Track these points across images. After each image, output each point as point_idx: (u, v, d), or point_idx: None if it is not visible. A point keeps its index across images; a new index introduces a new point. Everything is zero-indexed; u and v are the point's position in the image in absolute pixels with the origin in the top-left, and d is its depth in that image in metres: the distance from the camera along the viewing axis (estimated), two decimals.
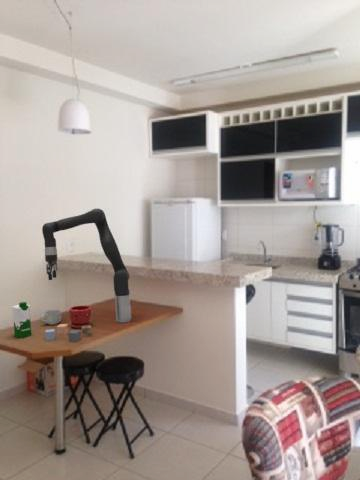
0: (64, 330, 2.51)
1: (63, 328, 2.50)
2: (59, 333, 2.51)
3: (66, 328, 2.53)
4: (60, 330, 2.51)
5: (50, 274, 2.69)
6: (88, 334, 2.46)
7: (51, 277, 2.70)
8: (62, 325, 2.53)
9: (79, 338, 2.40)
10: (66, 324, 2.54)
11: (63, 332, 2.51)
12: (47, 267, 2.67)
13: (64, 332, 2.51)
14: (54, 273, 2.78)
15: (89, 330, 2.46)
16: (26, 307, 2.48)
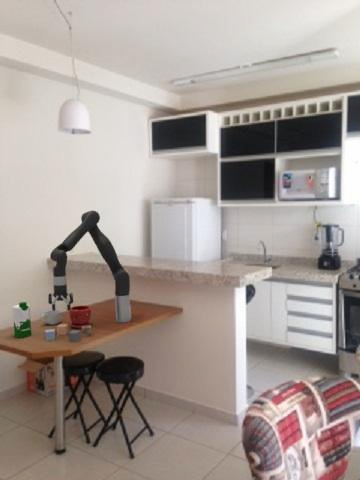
0: (64, 330, 2.51)
1: (63, 328, 2.50)
2: (59, 333, 2.51)
3: (66, 328, 2.53)
4: (60, 330, 2.51)
5: None
6: (88, 334, 2.46)
7: None
8: (62, 325, 2.53)
9: (79, 338, 2.40)
10: (66, 324, 2.54)
11: (63, 332, 2.51)
12: (71, 296, 2.51)
13: (64, 332, 2.51)
14: (54, 306, 2.52)
15: (89, 330, 2.46)
16: (26, 307, 2.48)
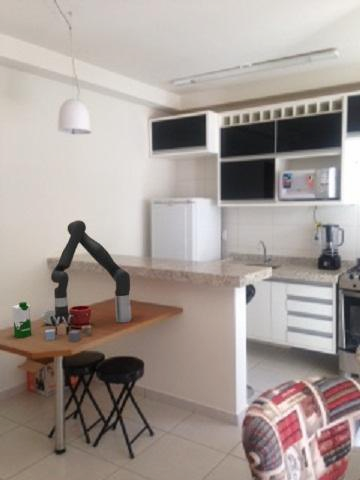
0: (64, 330, 2.50)
1: (63, 328, 2.50)
2: (59, 332, 2.51)
3: None
4: (60, 330, 2.51)
5: None
6: (88, 334, 2.46)
7: None
8: (62, 325, 2.53)
9: (79, 338, 2.40)
10: None
11: (63, 332, 2.51)
12: (72, 319, 2.52)
13: (64, 332, 2.51)
14: None
15: (89, 330, 2.46)
16: (26, 307, 2.48)
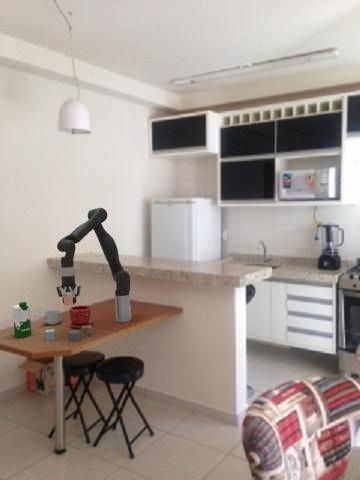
0: (71, 301, 2.43)
1: (70, 299, 2.43)
2: (66, 303, 2.43)
3: None
4: (67, 301, 2.43)
5: None
6: (88, 334, 2.46)
7: None
8: (69, 296, 2.45)
9: (79, 338, 2.40)
10: None
11: (70, 303, 2.43)
12: (79, 289, 2.44)
13: (71, 303, 2.43)
14: None
15: (89, 330, 2.46)
16: (26, 307, 2.48)
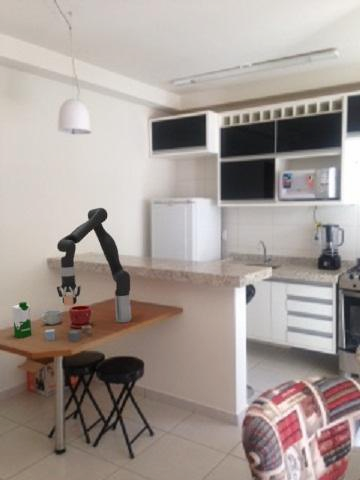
0: (71, 301, 2.42)
1: (70, 299, 2.42)
2: (66, 303, 2.43)
3: None
4: (67, 301, 2.43)
5: None
6: (88, 334, 2.46)
7: None
8: (69, 296, 2.45)
9: (79, 338, 2.40)
10: None
11: (70, 303, 2.43)
12: (79, 289, 2.44)
13: (71, 303, 2.43)
14: None
15: (89, 330, 2.46)
16: (26, 307, 2.48)
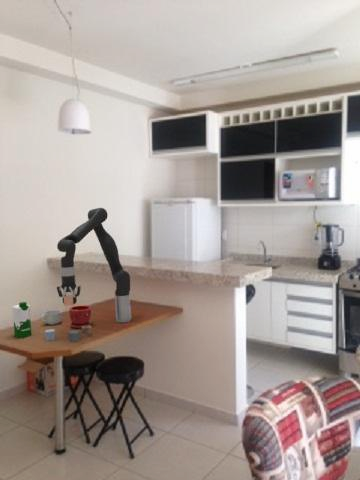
0: (71, 301, 2.42)
1: (70, 299, 2.42)
2: (66, 303, 2.43)
3: None
4: (67, 301, 2.43)
5: None
6: (88, 334, 2.46)
7: None
8: (69, 296, 2.45)
9: (79, 338, 2.40)
10: None
11: (70, 303, 2.43)
12: (79, 289, 2.44)
13: (71, 303, 2.43)
14: None
15: (89, 330, 2.46)
16: (26, 307, 2.48)
